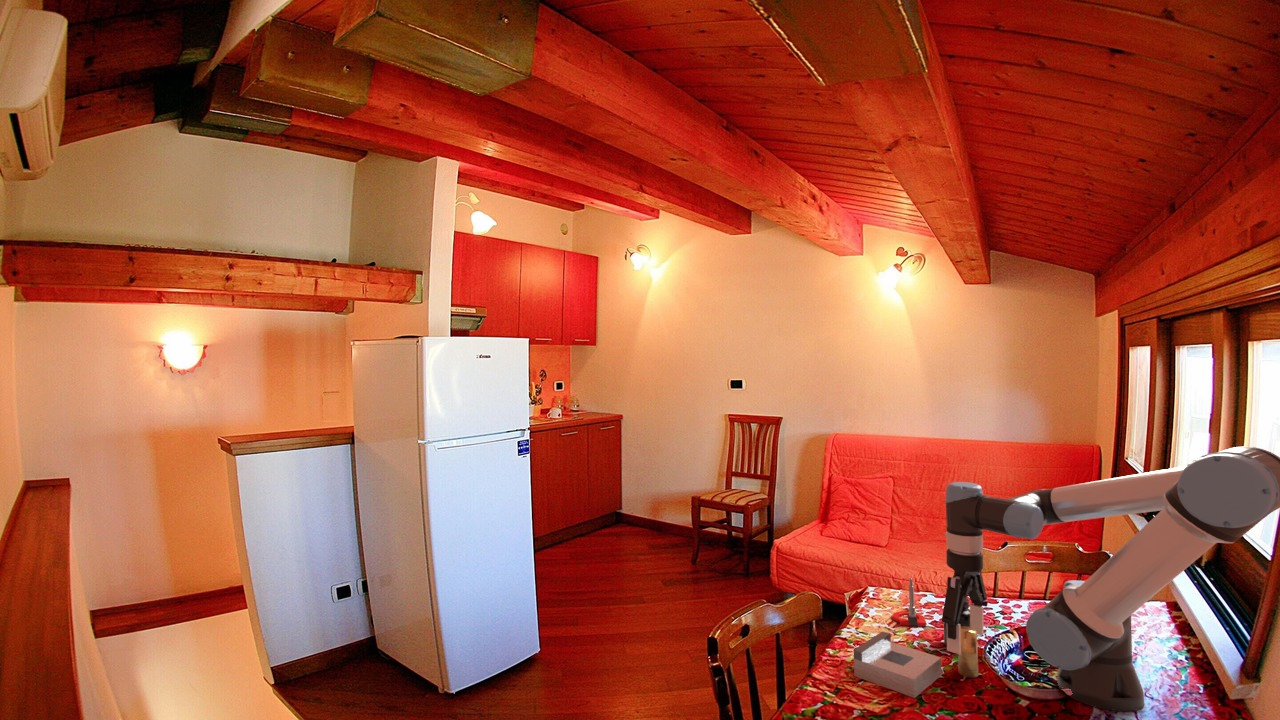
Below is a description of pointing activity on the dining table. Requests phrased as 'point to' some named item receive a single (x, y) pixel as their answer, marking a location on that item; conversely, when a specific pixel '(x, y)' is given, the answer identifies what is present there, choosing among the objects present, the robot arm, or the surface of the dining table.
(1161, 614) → the dining table surface
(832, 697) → the dining table surface
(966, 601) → the supplement bottle
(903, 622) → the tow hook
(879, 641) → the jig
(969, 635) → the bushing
